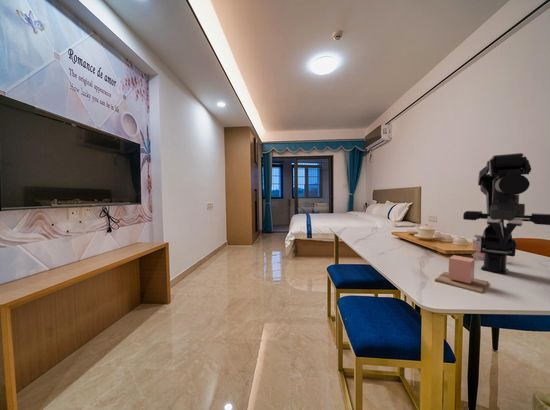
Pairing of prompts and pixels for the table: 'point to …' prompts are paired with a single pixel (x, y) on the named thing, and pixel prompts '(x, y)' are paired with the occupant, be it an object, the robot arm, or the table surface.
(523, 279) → the table surface
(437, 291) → the table surface
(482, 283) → the taupe inverted t block
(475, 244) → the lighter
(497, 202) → the robot arm
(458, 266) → the pink rectangular block
